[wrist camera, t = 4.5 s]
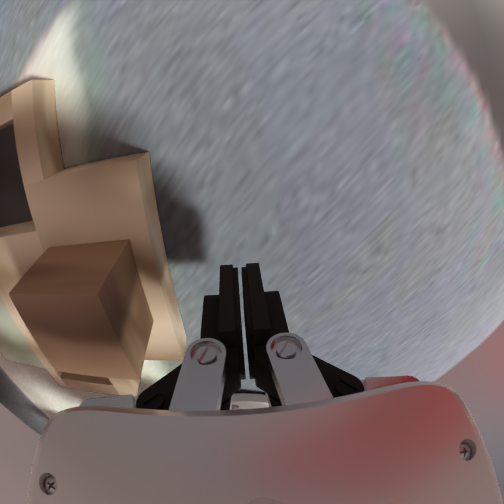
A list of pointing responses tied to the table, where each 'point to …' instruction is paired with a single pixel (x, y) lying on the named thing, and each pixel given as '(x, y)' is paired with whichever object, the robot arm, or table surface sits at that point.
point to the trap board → (75, 227)
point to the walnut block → (87, 309)
